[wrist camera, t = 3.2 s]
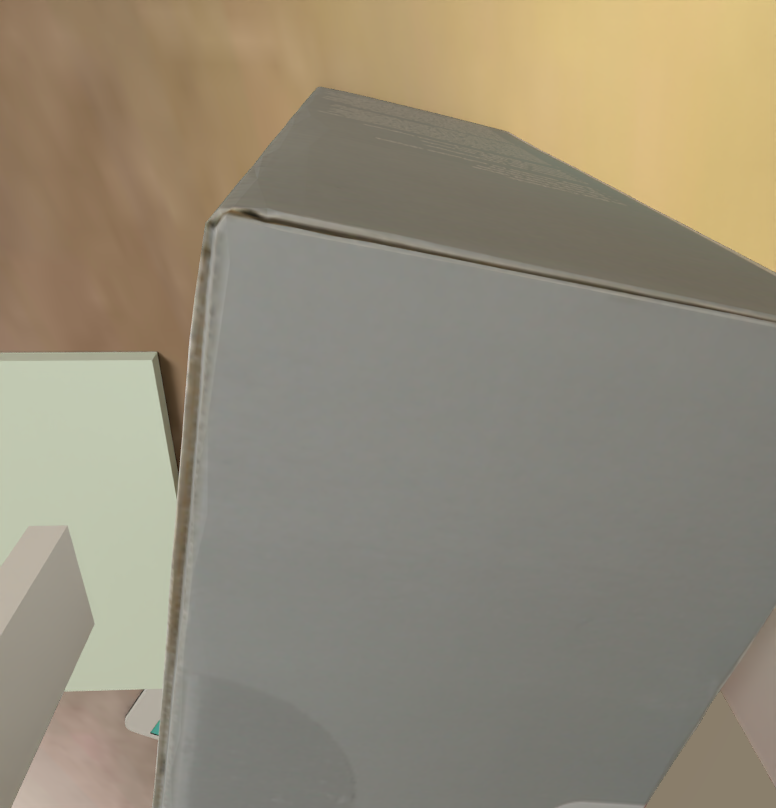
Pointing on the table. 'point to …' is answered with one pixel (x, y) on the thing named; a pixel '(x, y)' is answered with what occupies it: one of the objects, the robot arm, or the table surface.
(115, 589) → the coaster board
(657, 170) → the table surface
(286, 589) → the hard drive box
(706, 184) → the table surface
